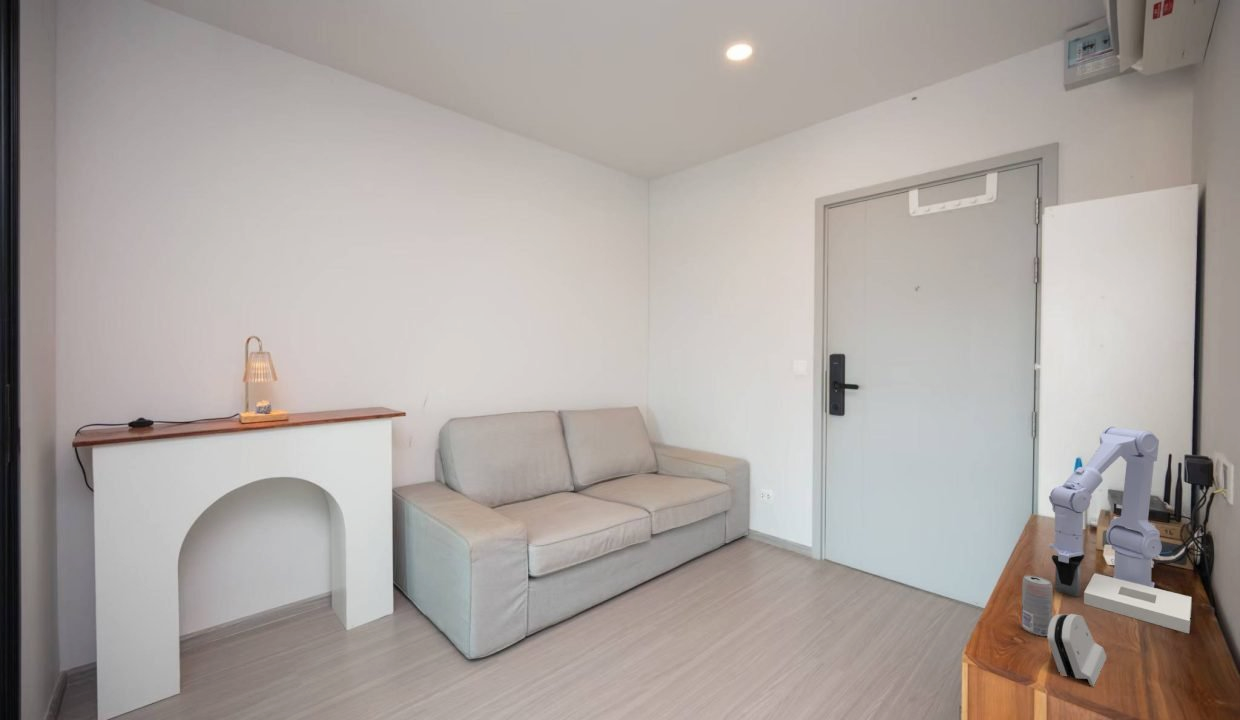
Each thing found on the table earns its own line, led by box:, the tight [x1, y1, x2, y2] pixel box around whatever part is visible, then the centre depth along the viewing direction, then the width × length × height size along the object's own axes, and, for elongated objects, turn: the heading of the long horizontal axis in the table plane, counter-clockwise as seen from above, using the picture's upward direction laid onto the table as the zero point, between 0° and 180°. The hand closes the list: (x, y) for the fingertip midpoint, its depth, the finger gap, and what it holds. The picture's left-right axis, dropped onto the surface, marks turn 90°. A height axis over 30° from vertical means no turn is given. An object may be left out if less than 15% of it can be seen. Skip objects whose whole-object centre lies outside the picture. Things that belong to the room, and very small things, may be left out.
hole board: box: [1083, 572, 1192, 634], centre depth 128 cm, size 18×18×3 cm
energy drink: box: [1021, 574, 1053, 637], centre depth 116 cm, size 5×5×12 cm
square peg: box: [1054, 562, 1082, 598], centre depth 136 cm, size 4×4×8 cm
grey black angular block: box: [1046, 613, 1107, 686], centre depth 104 cm, size 17×5×10 cm, turn 129°
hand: (1067, 581), depth 136 cm, fingers closed on square peg, 4 cm apart
